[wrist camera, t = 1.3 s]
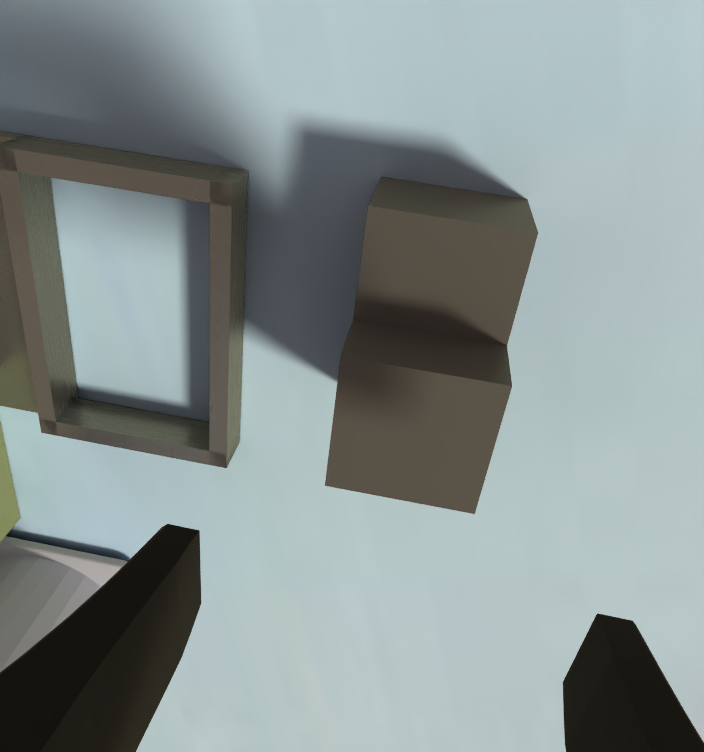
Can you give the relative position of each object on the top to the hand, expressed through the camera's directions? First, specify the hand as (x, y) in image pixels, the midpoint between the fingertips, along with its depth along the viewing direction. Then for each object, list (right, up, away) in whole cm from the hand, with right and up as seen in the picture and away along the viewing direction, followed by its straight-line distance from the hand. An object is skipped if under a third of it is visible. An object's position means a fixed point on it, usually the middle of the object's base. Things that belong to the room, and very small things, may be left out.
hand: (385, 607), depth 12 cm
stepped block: (+2, +6, +8) cm, 10 cm away
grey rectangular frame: (-9, +7, +9) cm, 14 cm away
